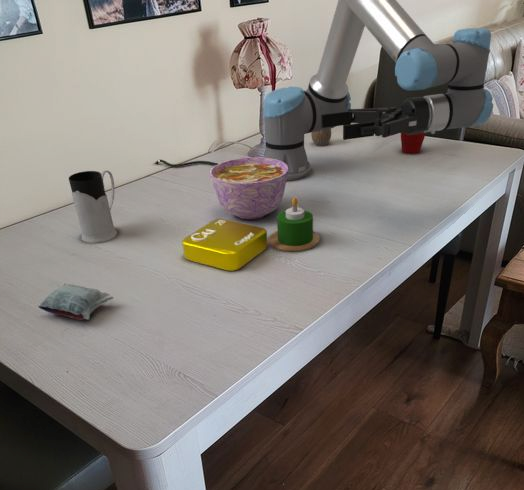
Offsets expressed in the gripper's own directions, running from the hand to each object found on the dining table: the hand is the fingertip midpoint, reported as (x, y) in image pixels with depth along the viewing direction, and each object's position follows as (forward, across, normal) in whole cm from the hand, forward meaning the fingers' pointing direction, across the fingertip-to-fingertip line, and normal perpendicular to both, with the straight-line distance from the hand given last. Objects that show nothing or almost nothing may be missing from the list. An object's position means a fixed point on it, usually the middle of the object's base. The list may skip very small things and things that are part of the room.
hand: (332, 126), depth 116 cm
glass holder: (+53, +22, -23) cm, 62 cm away
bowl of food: (+15, +20, -23) cm, 34 cm away
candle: (+9, 0, -24) cm, 26 cm away
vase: (-22, +71, -21) cm, 78 cm away
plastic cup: (-46, +51, -22) cm, 73 cm away
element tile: (+26, -1, -24) cm, 36 cm away
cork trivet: (+10, 0, -24) cm, 26 cm away
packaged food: (+59, -16, -25) cm, 66 cm away
